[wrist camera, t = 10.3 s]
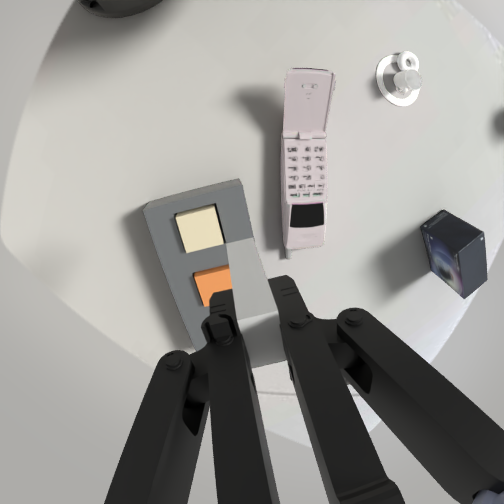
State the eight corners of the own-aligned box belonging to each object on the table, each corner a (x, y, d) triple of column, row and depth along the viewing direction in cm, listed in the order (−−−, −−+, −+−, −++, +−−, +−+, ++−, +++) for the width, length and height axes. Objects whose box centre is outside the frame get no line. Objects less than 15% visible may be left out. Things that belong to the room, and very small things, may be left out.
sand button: (179, 207, 38) (175, 217, 34) (213, 198, 38) (214, 207, 34) (188, 239, 40) (186, 253, 36) (222, 231, 40) (223, 243, 36)
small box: (417, 226, 45) (457, 252, 35) (443, 207, 44) (485, 229, 34) (429, 272, 49) (464, 301, 39) (453, 253, 48) (489, 279, 39)
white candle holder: (402, 45, 32) (418, 41, 29) (428, 89, 36) (444, 89, 32) (364, 69, 34) (379, 65, 30) (393, 115, 37) (409, 116, 33)
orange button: (195, 261, 41) (194, 277, 37) (227, 253, 42) (230, 268, 38) (204, 289, 43) (204, 306, 39) (235, 281, 44) (238, 298, 39)
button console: (149, 201, 37) (142, 210, 34) (238, 178, 38) (242, 184, 34) (199, 342, 48) (199, 359, 44) (271, 325, 48) (276, 341, 44)
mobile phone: (336, 69, 28) (333, 271, 39) (319, 76, 34) (319, 252, 44) (284, 66, 28) (289, 276, 38) (274, 74, 33) (279, 256, 43)
